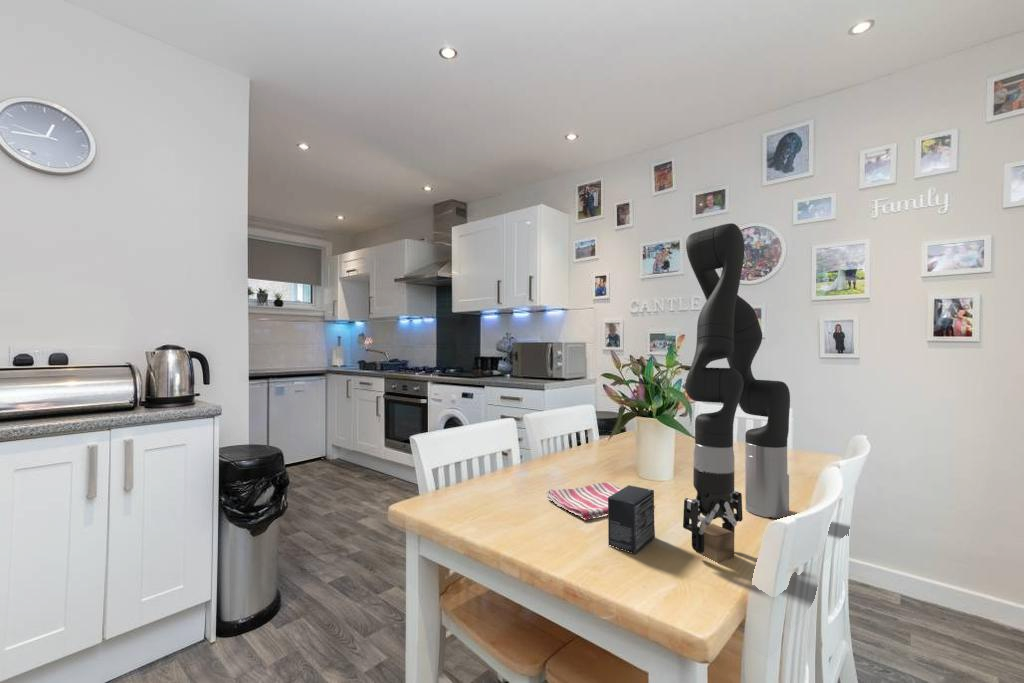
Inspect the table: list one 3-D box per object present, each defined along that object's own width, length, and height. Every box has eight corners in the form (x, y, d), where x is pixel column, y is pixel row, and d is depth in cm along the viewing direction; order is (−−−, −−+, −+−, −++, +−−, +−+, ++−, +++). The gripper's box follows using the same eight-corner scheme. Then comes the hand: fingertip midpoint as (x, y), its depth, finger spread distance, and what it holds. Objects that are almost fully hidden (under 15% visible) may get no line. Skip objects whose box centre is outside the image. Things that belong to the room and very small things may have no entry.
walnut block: (712, 547, 92) (712, 523, 92) (734, 557, 87) (734, 532, 87) (695, 552, 90) (695, 527, 90) (716, 563, 85) (716, 537, 85)
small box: (627, 529, 101) (627, 483, 101) (655, 537, 97) (655, 489, 97) (606, 546, 92) (606, 496, 93) (635, 555, 88) (635, 503, 88)
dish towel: (544, 501, 120) (544, 488, 120) (610, 488, 131) (610, 476, 131) (583, 524, 105) (583, 509, 105) (654, 507, 116) (654, 494, 116)
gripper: (721, 458, 95) (721, 533, 95) (673, 465, 89) (672, 546, 89) (754, 467, 88) (754, 548, 88) (704, 475, 82) (703, 562, 82)
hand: (713, 547), depth 89 cm, fingers open, 8 cm apart
